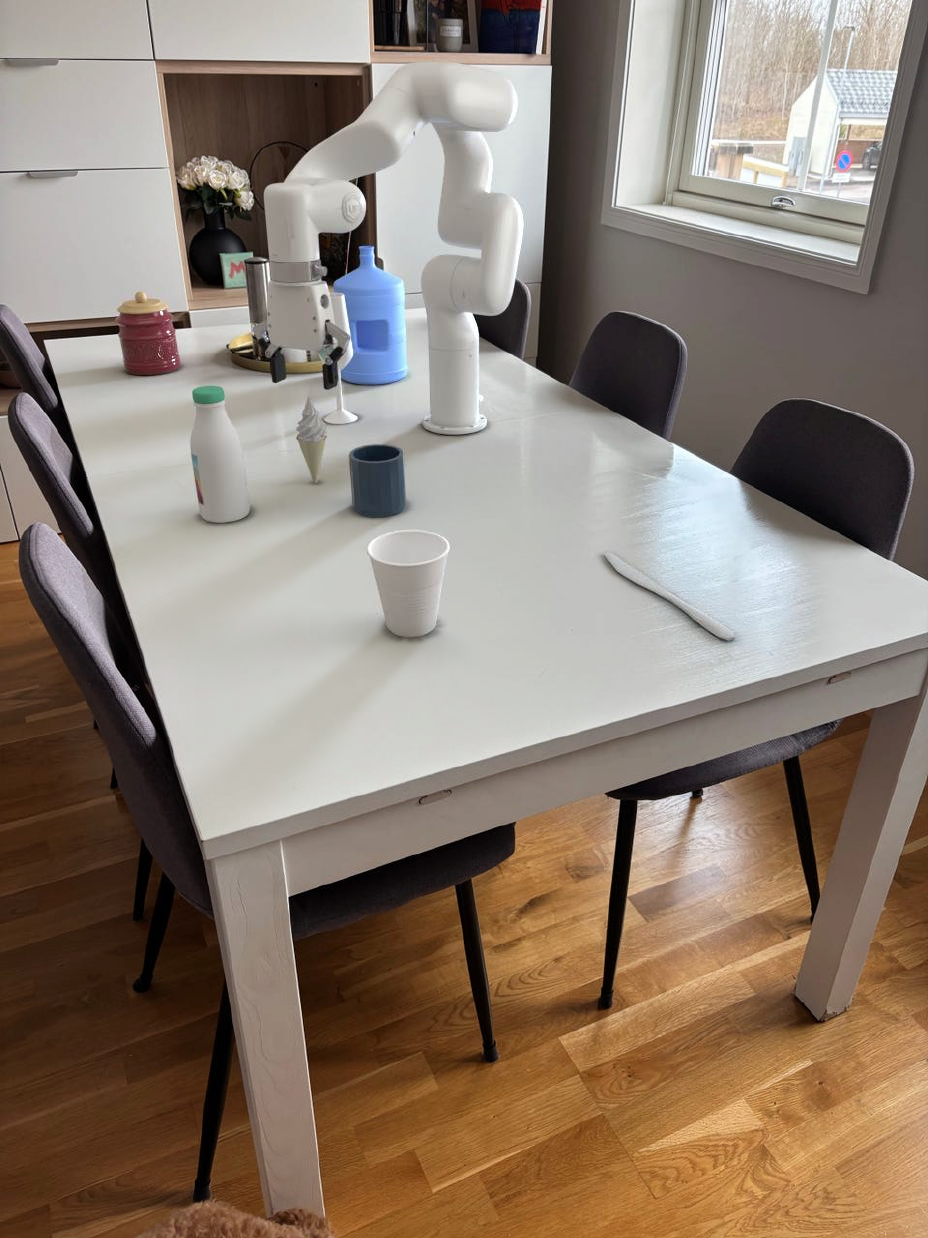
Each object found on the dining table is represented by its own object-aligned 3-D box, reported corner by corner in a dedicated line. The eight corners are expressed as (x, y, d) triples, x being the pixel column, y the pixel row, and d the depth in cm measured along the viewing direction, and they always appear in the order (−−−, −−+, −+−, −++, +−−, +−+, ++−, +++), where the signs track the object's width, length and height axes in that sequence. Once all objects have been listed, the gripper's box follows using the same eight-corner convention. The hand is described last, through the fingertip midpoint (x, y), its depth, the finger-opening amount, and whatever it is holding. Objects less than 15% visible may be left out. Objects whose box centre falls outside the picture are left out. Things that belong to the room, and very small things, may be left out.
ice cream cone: (325, 489, 159) (317, 401, 151) (296, 487, 160) (287, 399, 152) (334, 478, 163) (327, 392, 156) (306, 476, 164) (298, 390, 157)
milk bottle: (259, 507, 152) (244, 383, 142) (234, 526, 146) (216, 398, 136) (217, 502, 154) (199, 379, 145) (191, 520, 148) (170, 393, 138)
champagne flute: (317, 421, 190) (306, 297, 178) (334, 411, 196) (324, 290, 184) (347, 425, 188) (338, 299, 176) (363, 415, 193) (355, 292, 182)
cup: (371, 609, 123) (366, 531, 117) (448, 605, 124) (446, 527, 118) (371, 649, 114) (366, 567, 109) (454, 644, 115) (452, 562, 109)
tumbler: (369, 493, 157) (365, 441, 153) (414, 501, 154) (412, 448, 150) (343, 512, 150) (339, 458, 146) (390, 520, 147) (387, 465, 143)
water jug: (369, 363, 228) (362, 239, 214) (421, 373, 220) (417, 245, 206) (325, 378, 217) (314, 248, 204) (377, 389, 209) (370, 254, 195)
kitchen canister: (139, 360, 233) (125, 285, 224) (189, 362, 231) (178, 286, 223) (115, 375, 222) (100, 296, 213) (168, 376, 220) (155, 297, 211)
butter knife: (719, 640, 114) (739, 633, 115) (596, 555, 135) (613, 550, 136) (718, 644, 114) (738, 637, 115) (596, 559, 136) (613, 553, 137)
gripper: (357, 272, 145) (363, 384, 153) (262, 264, 151) (272, 373, 159) (332, 280, 139) (339, 396, 147) (233, 272, 145) (246, 384, 153)
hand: (304, 384), depth 153 cm, fingers open, 9 cm apart
